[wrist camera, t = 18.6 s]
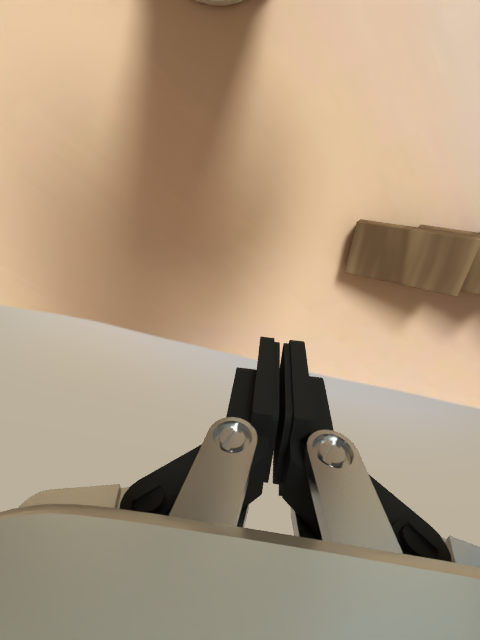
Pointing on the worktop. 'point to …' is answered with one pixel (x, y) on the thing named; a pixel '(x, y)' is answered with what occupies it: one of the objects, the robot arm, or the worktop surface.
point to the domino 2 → (476, 279)
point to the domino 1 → (412, 256)
